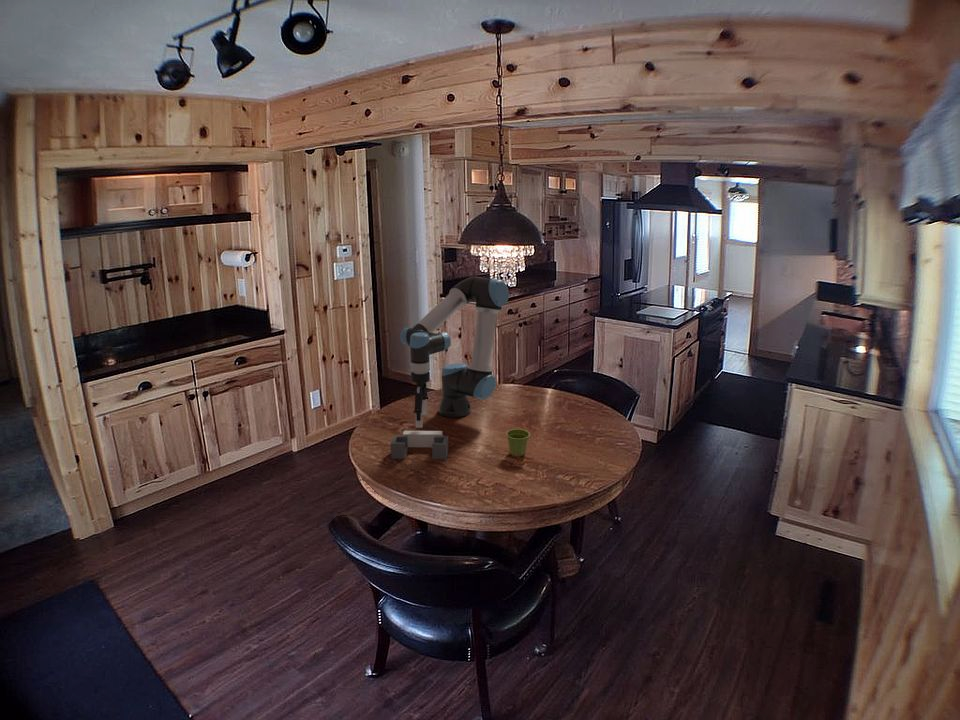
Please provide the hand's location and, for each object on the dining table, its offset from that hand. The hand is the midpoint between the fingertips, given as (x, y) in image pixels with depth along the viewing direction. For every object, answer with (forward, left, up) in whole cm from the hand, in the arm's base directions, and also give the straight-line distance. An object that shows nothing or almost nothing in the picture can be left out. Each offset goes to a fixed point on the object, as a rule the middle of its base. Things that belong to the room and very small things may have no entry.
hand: (421, 420), depth 243 cm
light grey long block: (0, 0, -11) cm, 11 cm away
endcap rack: (+4, +7, -11) cm, 14 cm away
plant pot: (-30, +27, -11) cm, 41 cm away
